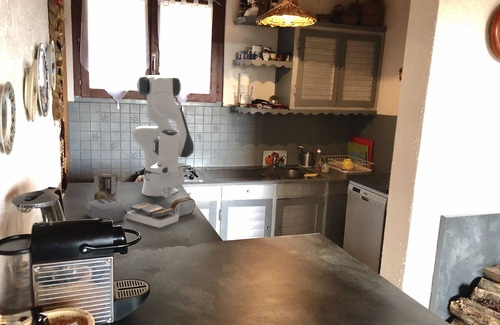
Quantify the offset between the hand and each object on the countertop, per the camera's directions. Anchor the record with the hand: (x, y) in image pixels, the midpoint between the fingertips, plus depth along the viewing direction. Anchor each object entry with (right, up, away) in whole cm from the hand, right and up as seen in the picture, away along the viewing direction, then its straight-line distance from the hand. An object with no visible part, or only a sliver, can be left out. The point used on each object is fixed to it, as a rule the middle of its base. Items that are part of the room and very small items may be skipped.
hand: (167, 196), depth 184 cm
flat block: (-2, -8, +2) cm, 8 cm away
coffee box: (-36, -7, +22) cm, 42 cm away
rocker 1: (-13, -6, +8) cm, 17 cm away
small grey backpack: (-29, -10, +4) cm, 31 cm away
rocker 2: (-8, -7, +5) cm, 12 cm away
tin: (+4, -11, +16) cm, 20 cm away
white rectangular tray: (-12, -11, +8) cm, 18 cm away
